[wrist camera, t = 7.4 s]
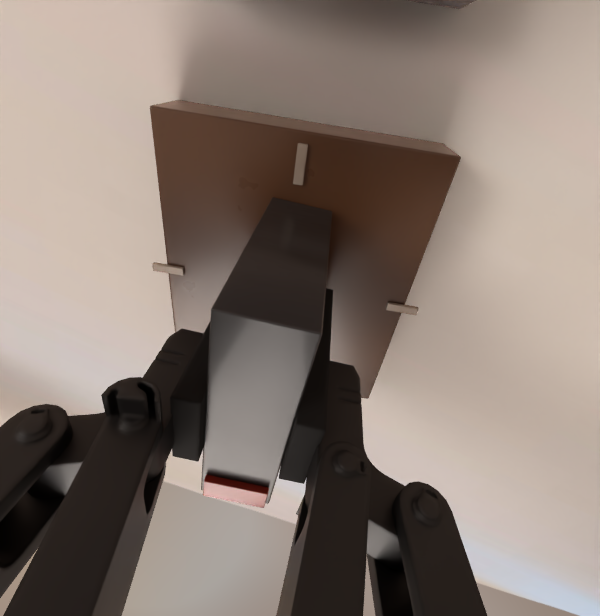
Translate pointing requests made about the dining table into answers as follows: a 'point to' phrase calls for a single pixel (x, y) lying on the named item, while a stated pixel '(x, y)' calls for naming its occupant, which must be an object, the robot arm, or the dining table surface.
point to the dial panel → (305, 190)
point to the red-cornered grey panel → (263, 350)
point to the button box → (447, 2)
